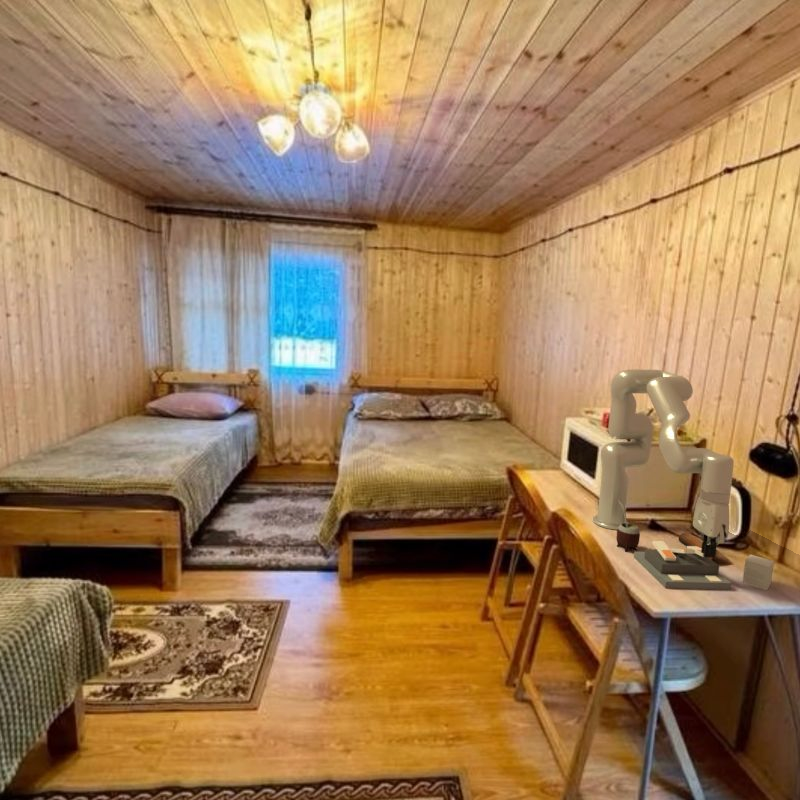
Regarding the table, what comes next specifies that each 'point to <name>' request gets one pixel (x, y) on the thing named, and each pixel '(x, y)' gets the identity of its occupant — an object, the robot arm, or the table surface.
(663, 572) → the switch panel
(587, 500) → the table surface
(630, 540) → the mate gourd
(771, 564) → the product box
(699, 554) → the rocker
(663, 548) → the block
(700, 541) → the sunglasses case
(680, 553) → the rocker middle
